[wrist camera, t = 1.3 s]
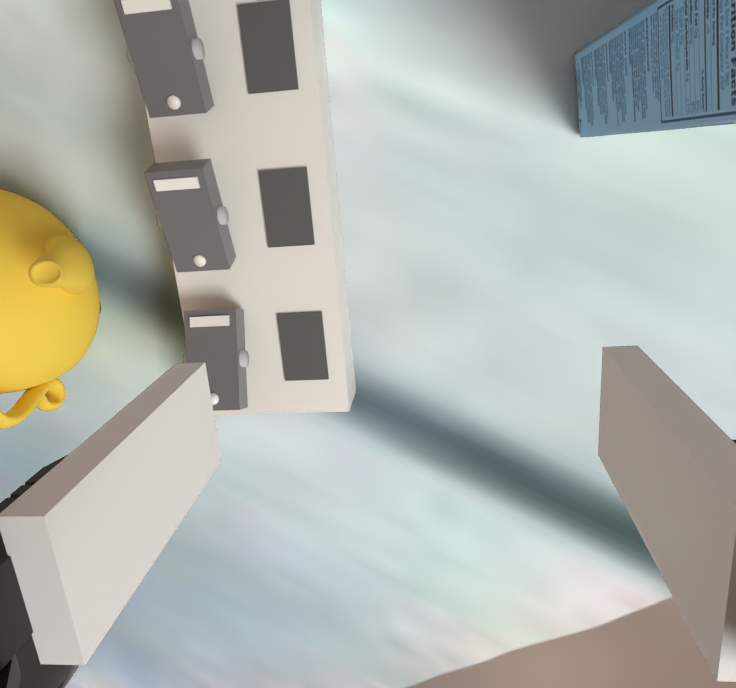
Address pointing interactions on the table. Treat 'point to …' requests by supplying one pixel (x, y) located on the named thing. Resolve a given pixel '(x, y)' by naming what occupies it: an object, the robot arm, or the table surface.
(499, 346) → the table surface
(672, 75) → the gum box
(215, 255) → the rocker
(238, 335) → the block
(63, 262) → the teapot
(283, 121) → the switch panel
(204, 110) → the rocker
